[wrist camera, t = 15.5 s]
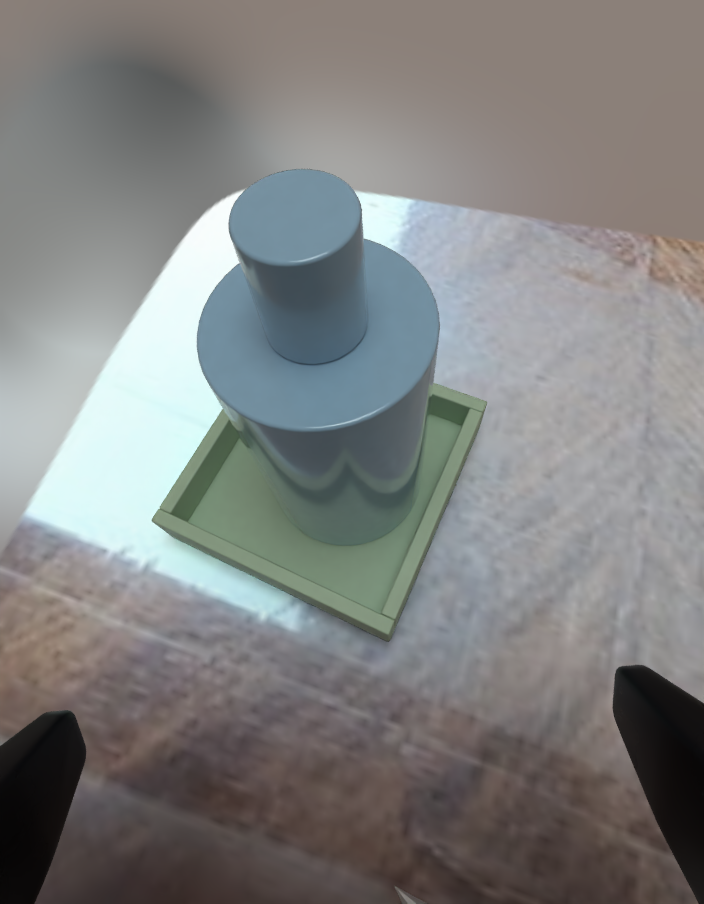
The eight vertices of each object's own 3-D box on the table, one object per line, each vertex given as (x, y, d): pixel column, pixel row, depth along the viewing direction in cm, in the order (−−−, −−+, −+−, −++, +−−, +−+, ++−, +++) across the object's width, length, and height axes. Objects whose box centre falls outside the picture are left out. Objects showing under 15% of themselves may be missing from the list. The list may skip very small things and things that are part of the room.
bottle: (449, 504, 19) (518, 257, 9) (309, 573, 19) (194, 396, 8) (379, 389, 22) (366, 79, 11) (253, 446, 21) (104, 175, 10)
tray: (389, 642, 18) (388, 635, 16) (173, 537, 20) (150, 520, 18) (479, 427, 21) (487, 401, 19) (284, 356, 24) (274, 326, 22)
